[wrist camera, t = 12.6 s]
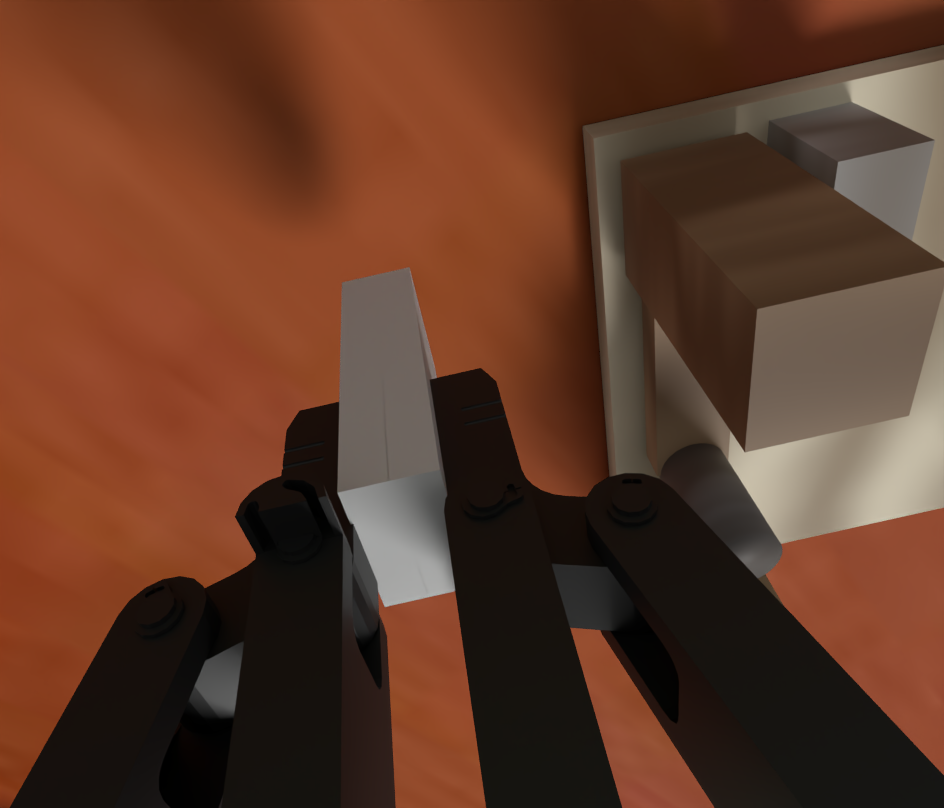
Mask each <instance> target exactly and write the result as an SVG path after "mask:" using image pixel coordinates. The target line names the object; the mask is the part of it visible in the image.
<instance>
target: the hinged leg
mask: <svg viewBox="0 0 944 808" xmlns="http://www.w3.org/2000/svg"><path fill="white" fill-rule="evenodd" d="M620 163H621V184H622V206H623V227H624V249H625V271H626V276H627V278H628V279H629V281H630V282H631V284H632V285H633V287H634V288H635V290H636V291H637V293H638V294H639V296H640V297H641V299H642V324H643V356H644V388H645V421H646V453H647V457H648V459H649V461H650V463H651V465H652V467H653V469H654V471H655V473H656V475H657V476H659V477H660V479H661V480H662V481H663V482H665V483H666V484H668V485H669V486H670V487H672V488H673V489H674V490H675V491H676V492H677V493H678V494H679V495H680V496H681V498H682V499H683V500H684V501H685V502H686V503H687V504H688V505H689V506H690V507H691V508H692V509H693V510H694V511H695V512H696V513H697V514H698V516H699V517H700V518H701V519H702V520H703V521H704V522H705V523H706V524H707V525H708V526H709V527H710V528H711V529H712V530H713V531H714V532H715V534H716V535H717V536H718V537H719V538H720V539H721V540H722V541H723V542H724V543H725V544H726V545H727V546H728V547H729V548H730V549H731V551H732V552H733V553H734V554H735V555H736V556H737V557H738V558H739V559H740V560H741V561H742V562H743V563H744V564H745V565H746V566H747V567H748V569H749V570H750V571H751V572H752V573H753V574H754V575H755V576H756V577H757V578H760V577H762V576H763V575H765V574H766V573H768V572H769V571H770V570H771V569H772V568H773V567H774V566H775V565H776V564H777V563H778V561H779V560H780V557H781V555H782V546H781V543H780V542H779V540H778V538H777V537H776V535H775V534H774V532H773V531H772V529H771V527H770V526H769V524H768V523H767V521H766V520H765V518H764V516H763V515H762V513H761V512H760V510H759V508H758V507H757V505H756V504H755V502H754V501H753V499H752V497H751V496H750V494H749V493H748V491H747V490H746V488H745V486H744V485H743V483H742V482H741V480H740V479H739V477H738V475H737V474H736V472H735V471H734V469H733V467H732V466H731V464H730V463H729V461H728V457H729V442H730V431H731V433H732V434H733V436H734V437H735V439H736V440H737V442H738V443H739V445H740V446H741V448H742V449H743V451H744V452H749V451H754V450H758V449H763V448H767V447H772V446H776V445H781V444H785V443H789V442H794V441H798V440H803V439H807V438H812V437H816V436H821V435H825V434H830V433H834V432H839V431H843V430H848V429H852V428H857V427H861V426H866V425H870V424H875V423H879V422H884V421H888V420H892V419H897V418H901V417H906V416H909V414H910V411H911V407H912V403H913V400H914V396H915V392H916V389H917V385H918V381H919V378H920V374H921V370H922V367H923V363H924V359H925V356H926V352H927V348H928V345H929V341H930V337H931V334H932V330H933V326H934V323H935V319H936V315H937V312H938V308H939V304H940V301H941V297H942V293H943V290H944V262H943V261H942V260H940V259H939V258H937V257H936V256H934V255H933V254H931V253H930V252H928V251H927V250H925V249H923V248H922V247H920V246H919V245H917V244H916V243H914V242H913V241H911V240H910V239H908V238H907V237H905V236H904V235H902V234H901V233H899V232H898V231H896V230H895V229H893V228H892V227H890V226H889V225H887V224H886V223H884V222H883V221H881V220H880V219H878V218H877V217H875V216H873V215H872V214H870V213H869V212H867V211H866V210H864V209H863V208H861V207H860V206H858V205H857V204H855V203H854V202H852V201H851V200H849V199H848V198H846V197H845V196H843V195H842V194H840V193H839V192H837V191H836V190H834V189H833V188H831V187H830V186H828V185H827V184H825V183H824V182H822V181H820V180H819V179H817V178H816V177H814V176H813V175H811V174H810V173H808V172H807V171H805V170H804V169H802V168H801V167H799V166H798V165H796V164H795V163H793V162H792V161H790V160H789V159H787V158H786V157H784V156H783V155H781V154H780V153H778V152H777V151H775V150H774V149H772V148H770V147H769V146H767V145H766V144H764V143H763V142H761V141H760V140H758V139H757V138H755V137H754V136H752V135H751V134H749V133H748V132H745V133H741V134H736V135H732V136H727V137H723V138H718V139H714V140H710V141H705V142H701V143H696V144H692V145H687V146H683V147H678V148H674V149H670V150H665V151H661V152H656V153H652V154H647V155H643V156H639V157H634V158H630V159H625V160H621V161H620Z"/></svg>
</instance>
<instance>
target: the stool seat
mask: <svg viewBox="0 0 944 808" xmlns="http://www.w3.org/2000/svg"><path fill="white" fill-rule="evenodd" d="M745 132H748V133H749V134H751V135H752V136H754V137H755V138H757V139H758V140H760V141H761V142H763V143H764V144H766V145H767V146H769V147H770V148H772V149H774V150H775V151H777V152H778V153H780V154H781V155H783V156H784V157H786V158H787V159H789V160H790V161H792V162H793V163H795V164H796V165H798V166H799V167H801V168H802V169H804V170H805V171H807V172H808V173H810V174H811V175H813V176H814V177H816V178H817V179H819V180H820V181H822V182H824V183H825V184H827V185H828V186H830V187H831V188H833V189H834V190H836V191H837V192H839V193H840V194H842V195H843V196H845V197H846V198H848V199H849V200H851V201H852V202H854V203H855V204H857V205H858V206H860V207H861V208H863V209H864V210H866V211H867V212H869V213H870V214H872V215H873V216H875V217H877V218H878V219H880V220H881V221H883V222H884V223H886V224H887V225H889V226H890V227H892V228H893V229H895V230H896V231H898V232H899V233H901V234H902V235H904V236H905V237H907V238H908V239H910V240H911V241H913V242H914V243H916V244H917V245H919V246H920V247H922V248H923V249H925V250H927V251H928V252H930V253H931V254H933V255H934V256H936V257H937V258H939V259H940V260H942V261H943V262H944V45H941V46H937V47H932V48H928V49H923V50H919V51H914V52H910V53H905V54H901V55H897V56H892V57H888V58H883V59H879V60H874V61H870V62H865V63H861V64H857V65H852V66H848V67H843V68H839V69H834V70H830V71H825V72H821V73H816V74H812V75H808V76H803V77H799V78H794V79H790V80H785V81H781V82H776V83H772V84H768V85H763V86H759V87H754V88H750V89H745V90H741V91H736V92H732V93H727V94H723V95H719V96H714V97H710V98H705V99H701V100H696V101H692V102H687V103H683V104H679V105H674V106H670V107H665V108H661V109H656V110H652V111H647V112H643V113H639V114H634V115H630V116H625V117H621V118H616V119H612V120H607V121H603V122H598V123H594V124H590V125H585V126H583V139H584V152H585V165H586V178H587V191H588V204H589V217H590V230H591V243H592V256H593V269H594V282H595V295H596V308H597V321H598V334H599V347H600V360H601V373H602V386H603V399H604V412H605V425H606V438H607V451H608V464H609V477H611V476H615V475H619V474H623V473H643V474H646V475H650V476H653V477H656V478H659V479H660V477H659V476H657V475H656V473H655V471H654V469H653V467H652V465H651V463H650V461H649V459H648V457H647V453H646V421H645V388H644V356H643V324H642V299H641V297H640V296H639V294H638V293H637V291H636V290H635V288H634V287H633V285H632V284H631V282H630V281H629V279H628V278H627V276H626V271H625V249H624V227H623V206H622V184H621V163H620V161H621V160H625V159H630V158H634V157H639V156H643V155H647V154H652V153H656V152H661V151H665V150H670V149H674V148H678V147H683V146H687V145H692V144H696V143H701V142H705V141H710V140H714V139H718V138H723V137H727V136H732V135H736V134H741V133H745ZM728 461H729V463H730V464H731V466H732V467H733V469H734V471H735V472H736V474H737V475H738V477H739V479H740V480H741V482H742V483H743V485H744V486H745V488H746V490H747V491H748V493H749V494H750V496H751V497H752V499H753V501H754V502H755V504H756V505H757V507H758V508H759V510H760V512H761V513H762V515H763V516H764V518H765V520H766V521H767V523H768V524H769V526H770V527H771V529H772V531H773V532H774V534H775V535H776V537H777V538H778V540H779V542H780V543H786V542H790V541H795V540H799V539H804V538H808V537H813V536H817V535H822V534H826V533H831V532H835V531H840V530H844V529H849V528H853V527H858V526H862V525H867V524H871V523H876V522H880V521H885V520H889V519H894V518H898V517H903V516H907V515H912V514H916V513H921V512H925V511H930V510H934V509H939V508H944V290H943V293H942V297H941V301H940V304H939V308H938V312H937V315H936V319H935V323H934V326H933V330H932V334H931V337H930V341H929V345H928V348H927V352H926V356H925V359H924V363H923V367H922V370H921V374H920V378H919V381H918V385H917V389H916V392H915V396H914V400H913V403H912V407H911V411H910V414H909V416H906V417H901V418H897V419H892V420H888V421H884V422H879V423H875V424H870V425H866V426H861V427H857V428H852V429H848V430H843V431H839V432H834V433H830V434H825V435H821V436H816V437H812V438H807V439H803V440H798V441H794V442H789V443H785V444H781V445H776V446H772V447H767V448H763V449H758V450H754V451H749V452H744V451H743V449H742V448H741V446H740V445H739V443H738V442H737V440H736V439H735V437H734V436H733V434H732V433H731V431H730V442H729V457H728ZM758 579H759V580H760V581H761V582H762V583H763V584H764V585H765V587H766V588H767V589H768V590H769V591H770V592H771V593H772V594H773V595H774V596H775V597H776V598H777V599H778V600H779V601H780V599H779V597H778V595H777V594H776V592H775V590H774V589H773V587H772V585H771V583H770V582H769V580H768V578H767V577H766V575H763V576H762V577H760V578H758ZM780 602H781V601H780ZM781 604H782V602H781ZM782 605H783V604H782Z"/></svg>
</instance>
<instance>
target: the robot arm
mask: <svg viewBox="0 0 944 808" xmlns="http://www.w3.org/2000/svg"><path fill="white" fill-rule="evenodd" d="M284 450H285V453H284V458H283V470H282V475H281V476H280V477H277V478H274V479H271V480H269V481H266V482H265V483H263V484H262V485H260V486H259V487H257V488H256V489H254V490H253V491H252V492H251V493H250V494H249V495H248V496H247V497H246V498H245V499H244V500H243V501H242V503H241V504H240V506H239V509H238V511H237V513H236V516H235V518H236V519H237V521H238V523H239V525H240V527H241V528H242V530H243V532H244V534H245V536H246V537H247V539H248V541H249V543H250V544H251V546H252V548H253V550H254V552H255V553H256V559H255V560H254V561H253V562H252V563H250V564H249V565H248V566H247V567H245V568H243V569H242V570H240V571H238V572H237V573H235V574H233V575H231V576H229V577H227V578H225V579H223V580H221V581H219V582H217V583H215V584H213V585H211V586H209V587H207V588H204V587H203V586H202V585H201V584H200V583H199V582H197V581H196V580H195V579H193V578H187V577H181V576H178V577H173V578H168V579H163V580H161V581H159V582H157V583H154V584H152V585H150V586H148V587H146V588H145V589H143V590H142V591H141V592H140V593H138V594H137V595H136V596H135V597H133V598H132V599H131V600H130V601H129V602H128V603H127V605H126V606H125V607H124V609H123V610H122V611H121V612H120V614H119V615H118V617H117V618H116V620H115V622H114V624H113V626H112V627H111V629H110V631H109V633H108V634H107V636H106V638H105V640H104V641H103V643H102V645H101V647H100V649H99V650H98V652H97V654H96V656H95V657H94V659H93V661H92V663H91V665H90V666H89V668H88V670H87V672H86V673H85V675H84V677H83V679H82V680H81V682H80V684H79V686H78V688H77V689H76V691H75V693H74V695H73V696H72V698H71V700H70V702H69V704H68V705H67V707H66V709H65V711H64V712H63V714H62V716H61V718H60V720H59V721H58V723H57V725H56V727H55V728H54V730H53V732H52V734H51V735H50V737H49V739H48V741H47V743H46V744H45V746H44V748H43V750H42V751H41V753H40V755H39V757H38V759H37V760H36V762H35V764H34V766H33V767H32V769H31V771H30V773H29V774H28V776H27V778H26V780H25V782H24V783H23V785H22V787H21V789H20V790H19V792H18V794H17V796H16V798H15V799H14V801H13V803H12V805H11V806H10V808H396V807H395V787H394V768H393V748H392V728H391V708H390V688H389V669H388V649H387V635H386V632H385V628H384V625H383V622H382V620H381V618H380V615H379V605H378V592H379V594H380V597H381V599H382V601H383V604H384V606H385V607H387V606H391V605H396V604H400V603H404V602H409V601H413V600H418V599H422V598H427V597H431V596H435V595H440V594H444V593H449V592H453V591H455V592H456V599H457V606H458V613H459V620H460V627H461V634H462V641H463V648H464V655H465V662H466V669H467V676H468V683H469V690H470V697H471V704H472V711H473V718H474V725H475V732H476V739H477V746H478V753H479V760H480V767H481V774H482V781H483V788H484V795H485V802H486V808H622V806H621V802H620V799H619V795H618V792H617V788H616V785H615V781H614V778H613V774H612V771H611V767H610V764H609V761H608V757H607V754H606V750H605V747H604V743H603V740H602V736H601V733H600V729H599V726H598V723H597V719H596V716H595V712H594V709H593V705H592V702H591V698H590V695H589V691H588V688H587V685H586V681H585V678H584V674H583V671H582V667H581V664H580V660H579V657H578V653H577V650H576V647H575V643H574V640H573V636H572V633H571V629H570V627H571V628H583V629H595V630H601V633H602V635H603V636H604V638H605V639H606V641H607V642H608V644H609V645H610V647H611V649H612V650H613V652H614V653H615V655H616V656H617V658H618V659H619V661H620V662H621V664H622V665H623V667H624V669H625V670H626V672H627V673H628V675H629V676H630V678H631V679H632V681H633V682H634V684H635V686H636V687H637V689H638V690H639V692H640V693H641V695H642V696H643V698H644V699H645V701H646V702H647V704H648V706H649V707H650V709H651V710H652V712H653V713H654V715H655V716H656V718H657V719H658V721H659V722H660V724H661V726H662V727H663V729H664V730H665V732H666V733H667V735H668V736H669V738H670V739H671V741H672V743H673V744H674V746H675V747H676V749H677V750H678V752H679V753H680V755H681V756H682V758H683V759H684V761H685V763H686V764H687V766H688V767H689V769H690V770H691V772H692V773H693V775H694V776H695V778H696V779H697V781H698V783H699V784H700V786H701V787H702V789H703V790H704V792H705V793H706V795H707V796H708V798H709V800H710V801H711V803H712V804H713V806H714V807H715V808H944V775H943V774H942V773H941V772H940V771H939V770H938V769H937V768H936V767H935V766H934V765H933V764H932V763H931V761H930V760H929V759H928V758H927V757H926V756H925V755H924V754H923V753H922V752H921V751H920V750H919V749H918V748H917V747H916V746H915V745H914V743H913V742H912V741H911V740H910V739H909V738H908V737H907V736H906V735H905V734H904V733H903V732H902V731H901V730H900V729H899V728H898V726H897V725H896V724H895V723H894V722H893V721H892V720H891V719H890V718H889V717H888V716H887V715H886V714H885V713H884V712H883V711H882V710H881V708H880V707H879V706H878V705H877V704H876V703H875V702H874V701H873V700H872V699H871V698H870V697H869V696H868V695H867V694H866V693H865V692H864V690H863V689H862V688H861V687H860V686H859V685H858V684H857V683H856V682H855V681H854V680H853V679H852V678H851V677H850V676H849V675H848V673H847V672H846V671H845V670H844V669H843V668H842V667H841V666H840V665H839V664H838V663H837V662H836V661H835V660H834V659H833V658H832V657H831V655H830V654H829V653H828V652H827V651H826V650H825V649H824V648H823V647H822V646H821V645H820V644H819V643H818V642H817V641H816V640H815V639H814V637H813V636H812V635H811V634H810V633H809V632H808V631H807V630H806V629H805V628H804V627H803V626H802V625H801V624H800V623H799V622H798V620H797V619H796V618H795V617H794V616H793V615H792V614H791V613H790V612H789V611H788V610H787V609H786V608H785V607H784V606H783V605H782V604H781V602H780V601H779V600H778V599H777V598H776V597H775V596H774V595H773V594H772V593H771V592H770V591H769V590H768V589H767V588H766V587H765V585H764V584H763V583H762V582H761V581H760V580H759V579H758V578H757V577H756V576H755V575H754V574H753V573H752V572H751V571H750V570H749V569H748V567H747V566H746V565H745V564H744V563H743V562H742V561H741V560H740V559H739V558H738V557H737V556H736V555H735V554H734V553H733V552H732V551H731V549H730V548H729V547H728V546H727V545H726V544H725V543H724V542H723V541H722V540H721V539H720V538H719V537H718V536H717V535H716V534H715V532H714V531H713V530H712V529H711V528H710V527H709V526H708V525H707V524H706V523H705V522H704V521H703V520H702V519H701V518H700V517H699V516H698V514H697V513H696V512H695V511H694V510H693V509H692V508H691V507H690V506H689V505H688V504H687V503H686V502H685V501H684V500H683V499H682V498H681V496H680V495H679V494H678V493H677V492H676V491H675V490H674V489H673V488H672V487H670V486H669V485H668V484H666V483H665V482H663V481H662V480H661V479H659V478H656V477H653V476H650V475H646V474H643V473H623V474H619V475H615V476H611V477H608V478H606V479H604V480H603V481H601V482H600V483H598V484H597V485H595V486H594V487H593V489H592V490H591V492H590V493H589V494H588V496H587V497H576V496H562V495H554V494H551V493H548V492H545V491H542V490H540V489H539V488H537V487H535V486H534V485H532V484H531V483H530V482H529V481H528V480H527V479H526V477H525V476H524V473H523V471H522V469H521V466H520V463H519V459H518V456H517V452H516V449H515V445H514V442H513V438H512V435H511V432H510V428H509V425H508V421H507V418H506V415H505V411H504V407H503V404H502V401H501V397H500V393H499V390H498V387H497V383H496V381H495V380H494V379H493V378H492V377H490V376H489V375H488V374H487V373H486V372H485V371H484V370H482V369H481V368H479V369H475V370H470V371H466V372H461V373H457V374H452V375H448V376H444V377H439V378H437V377H436V371H435V366H434V362H433V358H432V354H431V350H430V347H429V343H428V339H427V335H426V331H425V327H424V323H423V319H422V315H421V311H420V307H419V303H418V299H417V295H416V291H415V287H414V283H413V280H412V276H411V272H410V268H405V269H400V270H396V271H391V272H387V273H382V274H378V275H373V276H369V277H365V278H360V279H356V280H351V281H347V282H342V308H341V353H340V397H339V402H336V403H332V404H327V405H323V406H319V407H314V408H310V409H305V410H301V411H299V412H298V414H297V415H296V417H295V418H294V420H293V421H292V423H291V425H290V426H289V428H288V429H287V432H286V441H285V449H284Z"/></svg>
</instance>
